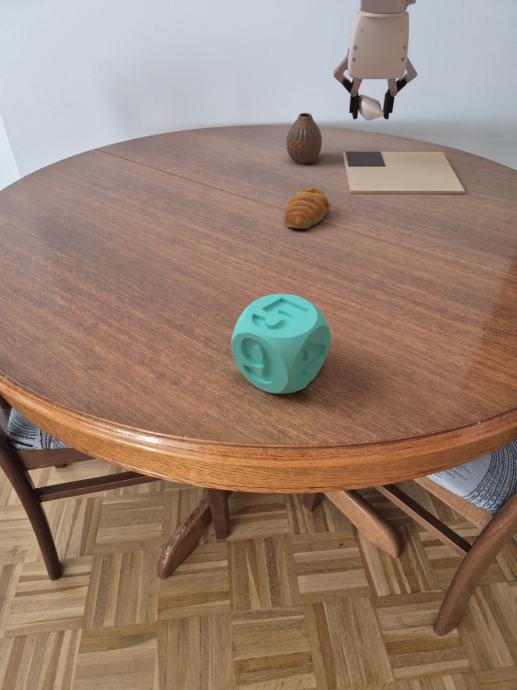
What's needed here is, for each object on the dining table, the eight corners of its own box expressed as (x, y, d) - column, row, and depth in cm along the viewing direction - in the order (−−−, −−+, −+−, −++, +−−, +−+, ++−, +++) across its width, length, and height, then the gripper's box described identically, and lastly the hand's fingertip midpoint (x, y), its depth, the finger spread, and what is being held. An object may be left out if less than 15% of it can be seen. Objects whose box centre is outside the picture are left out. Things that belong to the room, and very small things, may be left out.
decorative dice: (328, 365, 63) (334, 310, 57) (288, 406, 58) (290, 349, 53) (273, 338, 66) (273, 284, 61) (231, 374, 62) (227, 319, 57)
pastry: (314, 235, 85) (315, 213, 83) (274, 228, 87) (274, 206, 85) (332, 210, 92) (333, 188, 89) (294, 203, 94) (295, 182, 91)
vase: (326, 157, 109) (329, 112, 103) (310, 169, 105) (312, 123, 99) (296, 151, 112) (298, 106, 106) (279, 162, 107) (280, 117, 102)
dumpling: (350, 115, 104) (355, 92, 102) (376, 119, 105) (382, 97, 103) (358, 120, 98) (364, 96, 96) (386, 125, 99) (392, 101, 97)
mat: (442, 154, 109) (443, 150, 109) (464, 194, 96) (465, 189, 95) (342, 154, 110) (342, 150, 110) (350, 193, 97) (350, 189, 96)
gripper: (430, -1, 92) (412, 110, 104) (329, -1, 93) (323, 110, 105) (440, 7, 86) (419, 124, 98) (332, 8, 87) (325, 124, 99)
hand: (370, 115), depth 101 cm, fingers closed on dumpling, 5 cm apart
